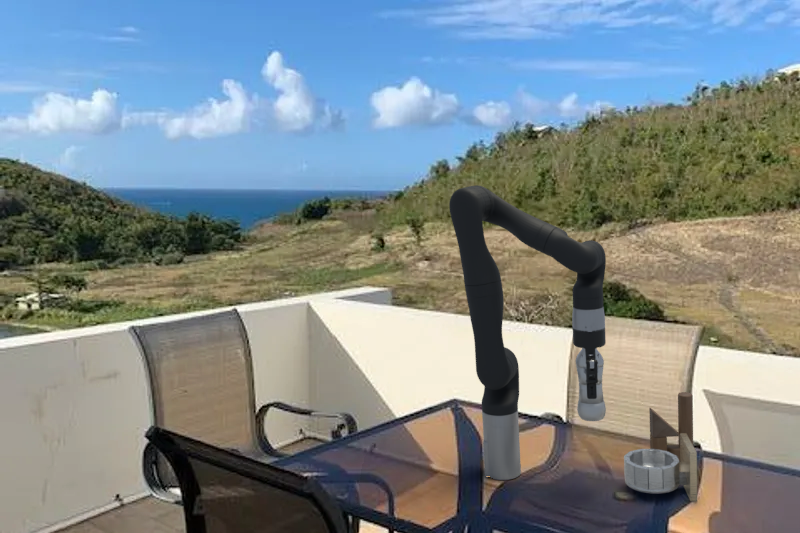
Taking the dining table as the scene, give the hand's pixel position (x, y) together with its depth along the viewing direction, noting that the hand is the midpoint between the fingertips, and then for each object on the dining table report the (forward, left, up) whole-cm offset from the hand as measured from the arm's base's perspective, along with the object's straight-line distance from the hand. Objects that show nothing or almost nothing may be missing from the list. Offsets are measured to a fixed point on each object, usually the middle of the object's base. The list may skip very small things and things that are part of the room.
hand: (590, 394), depth 190 cm
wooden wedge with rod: (+22, +18, -25) cm, 37 cm away
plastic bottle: (0, 0, -7) cm, 7 cm away
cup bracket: (+15, 0, -24) cm, 29 cm away
